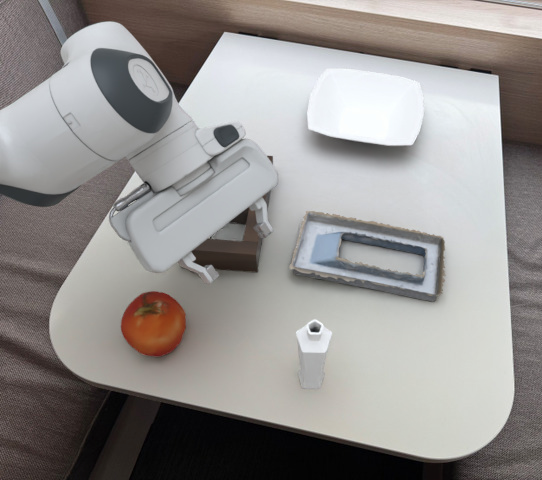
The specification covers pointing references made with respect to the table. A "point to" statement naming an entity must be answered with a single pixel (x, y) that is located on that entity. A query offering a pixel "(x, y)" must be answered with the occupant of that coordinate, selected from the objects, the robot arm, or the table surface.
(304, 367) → the perfume bottle
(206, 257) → the rack
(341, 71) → the bowl
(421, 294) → the picture frame
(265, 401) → the table surface
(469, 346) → the table surface
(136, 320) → the tomato
